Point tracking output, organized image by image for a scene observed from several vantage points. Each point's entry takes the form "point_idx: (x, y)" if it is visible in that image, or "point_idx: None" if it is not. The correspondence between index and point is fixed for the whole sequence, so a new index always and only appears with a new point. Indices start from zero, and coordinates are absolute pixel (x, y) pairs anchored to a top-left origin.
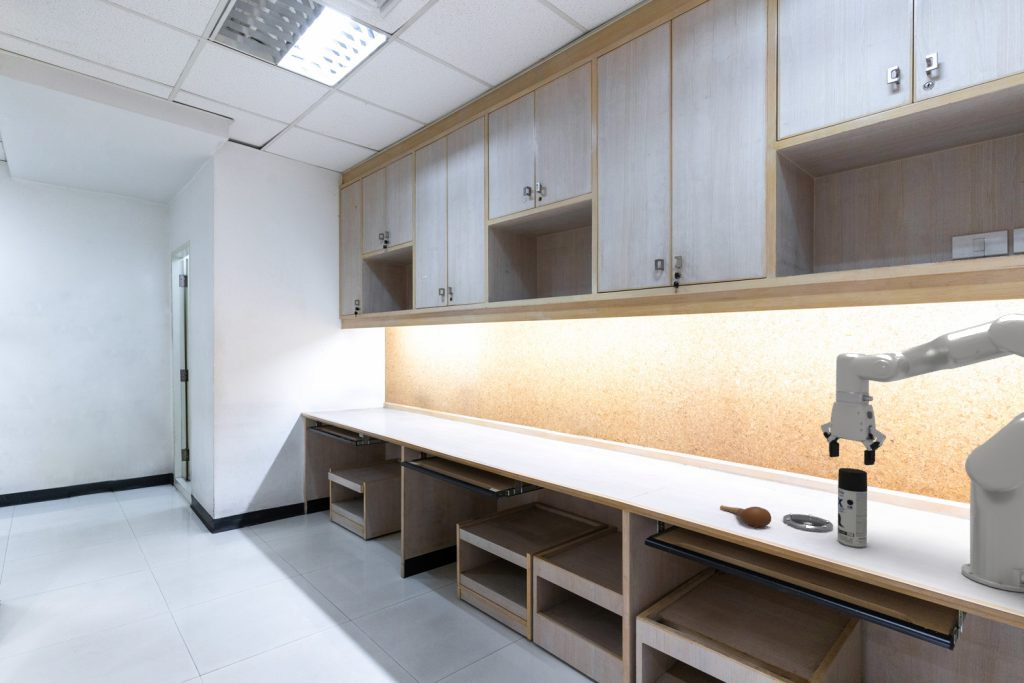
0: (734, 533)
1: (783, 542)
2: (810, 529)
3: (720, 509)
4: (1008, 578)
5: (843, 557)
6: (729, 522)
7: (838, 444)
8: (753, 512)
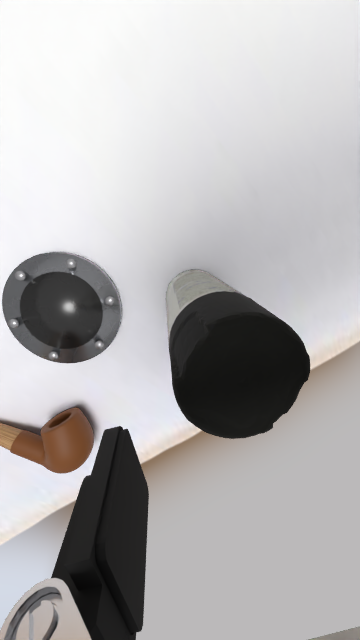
0: None
1: (167, 424)
2: (113, 337)
3: None
4: None
5: None
6: None
7: (111, 546)
8: (78, 465)
